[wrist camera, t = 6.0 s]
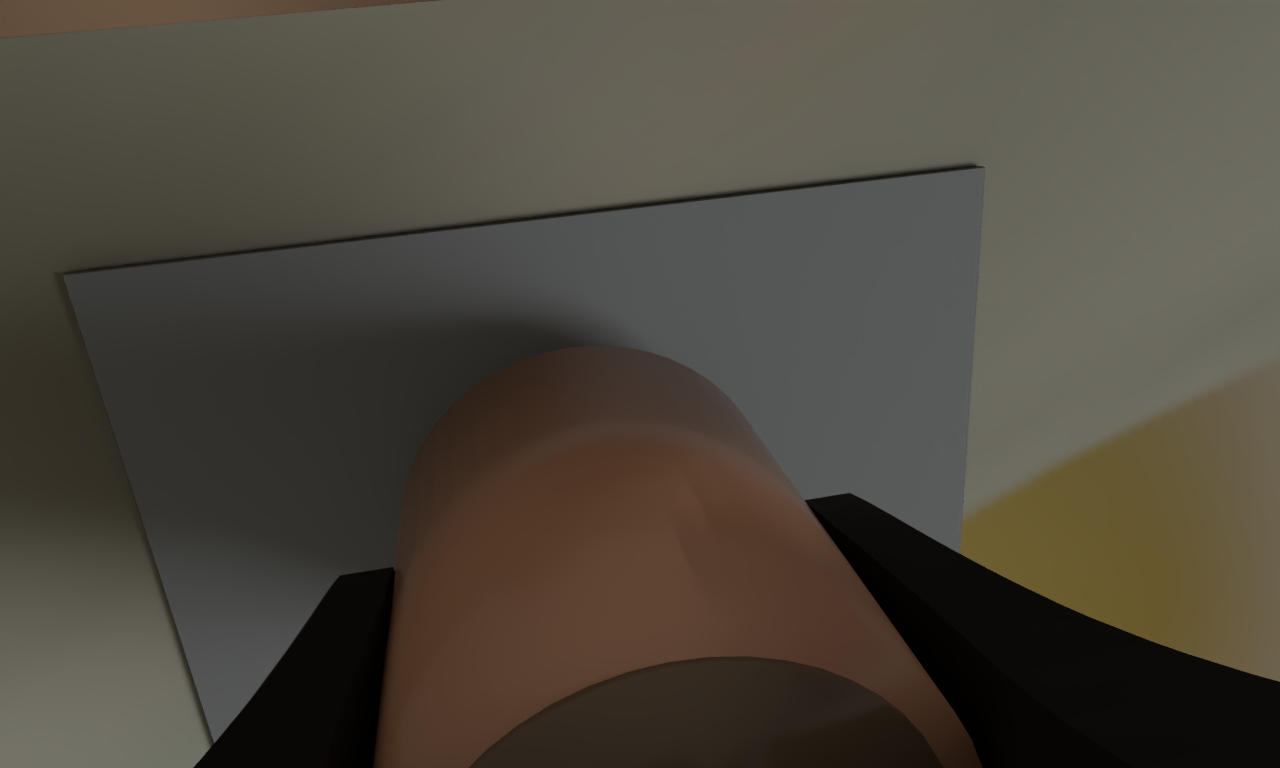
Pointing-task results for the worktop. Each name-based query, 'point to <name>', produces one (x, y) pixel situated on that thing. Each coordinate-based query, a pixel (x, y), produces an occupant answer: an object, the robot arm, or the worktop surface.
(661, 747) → the seedling pot
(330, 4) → the wooden square frame
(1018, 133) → the worktop surface
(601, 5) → the worktop surface
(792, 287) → the rubber mat
